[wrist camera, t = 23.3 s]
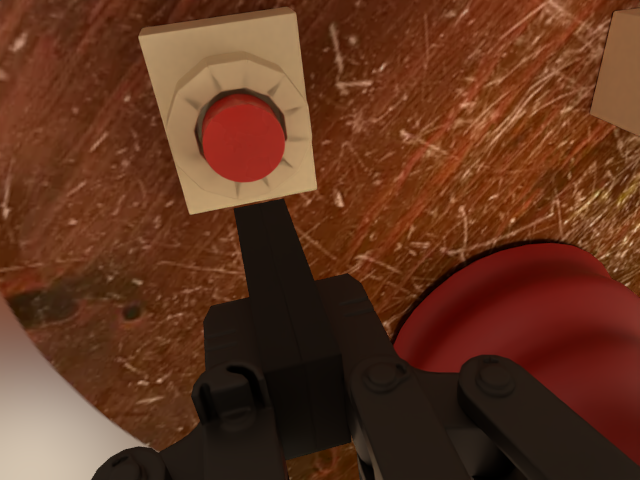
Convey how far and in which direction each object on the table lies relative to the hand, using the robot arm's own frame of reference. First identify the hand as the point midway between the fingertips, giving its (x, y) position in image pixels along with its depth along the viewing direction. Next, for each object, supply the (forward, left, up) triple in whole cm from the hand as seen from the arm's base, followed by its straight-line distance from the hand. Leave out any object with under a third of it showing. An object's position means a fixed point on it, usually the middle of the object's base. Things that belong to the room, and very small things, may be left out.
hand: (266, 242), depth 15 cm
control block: (0, 0, -13) cm, 13 cm away
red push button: (0, 0, -10) cm, 10 cm away
